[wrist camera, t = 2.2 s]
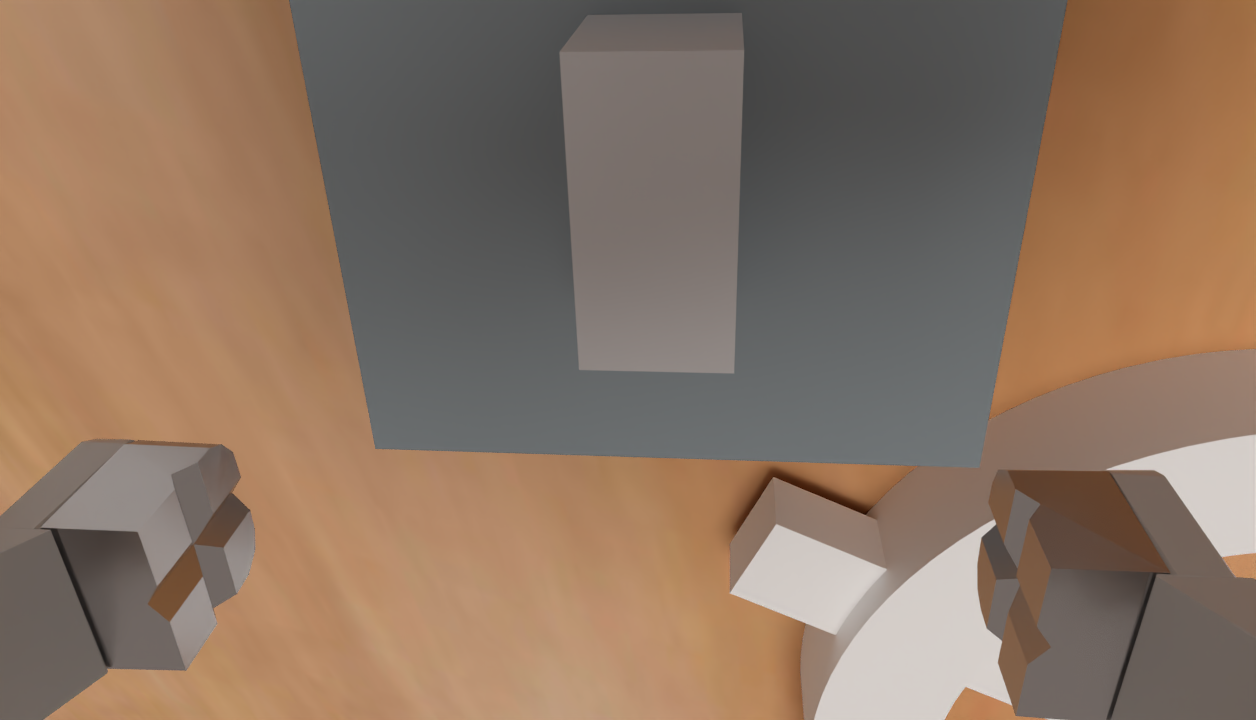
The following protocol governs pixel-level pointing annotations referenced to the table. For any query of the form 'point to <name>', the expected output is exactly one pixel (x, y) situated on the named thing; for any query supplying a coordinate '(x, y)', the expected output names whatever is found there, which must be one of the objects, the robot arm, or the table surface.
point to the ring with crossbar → (983, 532)
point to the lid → (680, 219)
